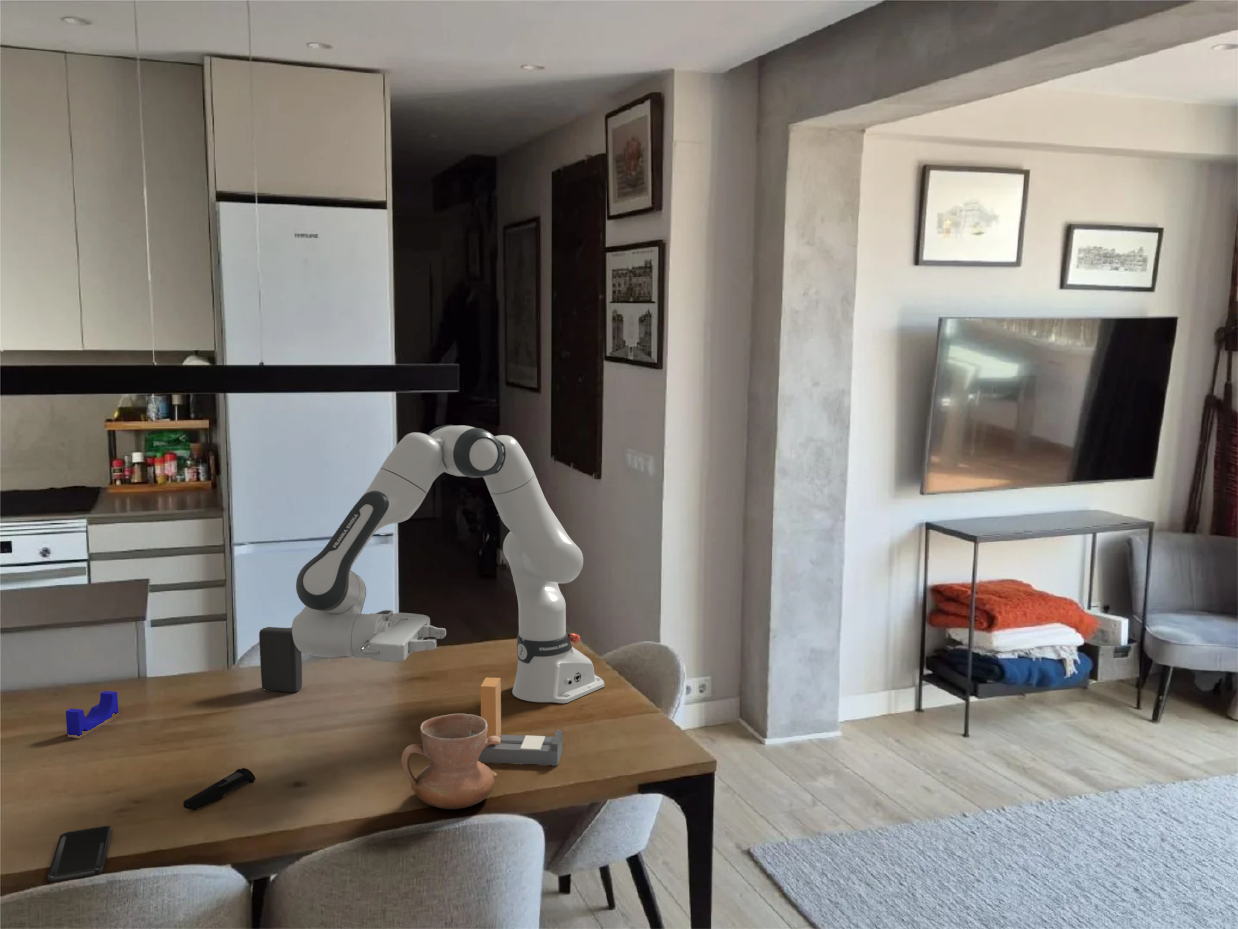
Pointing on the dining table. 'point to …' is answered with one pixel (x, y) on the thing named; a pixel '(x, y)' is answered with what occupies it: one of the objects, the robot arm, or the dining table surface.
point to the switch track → (524, 750)
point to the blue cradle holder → (92, 714)
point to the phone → (80, 853)
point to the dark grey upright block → (279, 660)
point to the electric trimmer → (219, 789)
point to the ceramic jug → (452, 762)
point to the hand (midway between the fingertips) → (440, 639)
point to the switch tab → (491, 705)
